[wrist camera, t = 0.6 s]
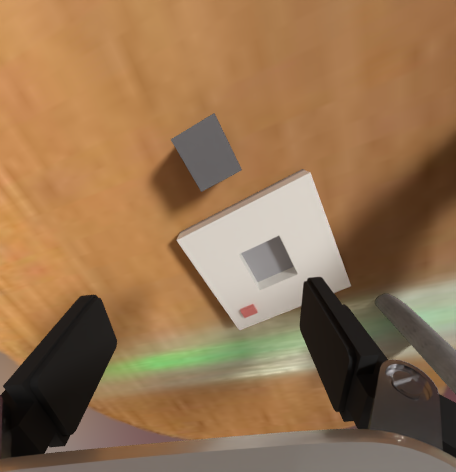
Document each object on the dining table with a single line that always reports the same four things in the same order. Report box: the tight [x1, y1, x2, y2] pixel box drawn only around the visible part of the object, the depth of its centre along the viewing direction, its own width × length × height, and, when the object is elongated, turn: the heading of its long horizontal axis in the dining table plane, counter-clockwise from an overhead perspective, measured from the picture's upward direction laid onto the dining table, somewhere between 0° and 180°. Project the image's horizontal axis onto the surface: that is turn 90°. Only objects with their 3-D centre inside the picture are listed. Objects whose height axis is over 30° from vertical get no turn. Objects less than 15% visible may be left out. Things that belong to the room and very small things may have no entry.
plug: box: [171, 113, 242, 192], centre depth 26 cm, size 5×6×7 cm
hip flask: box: [375, 294, 456, 394], centre depth 33 cm, size 16×4×20 cm, turn 49°
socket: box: [177, 169, 351, 331], centre depth 35 cm, size 20×20×4 cm
